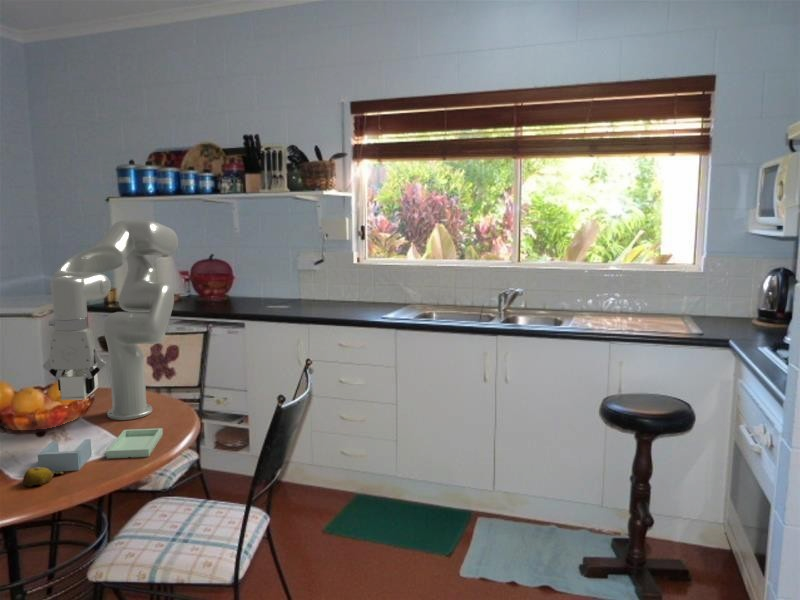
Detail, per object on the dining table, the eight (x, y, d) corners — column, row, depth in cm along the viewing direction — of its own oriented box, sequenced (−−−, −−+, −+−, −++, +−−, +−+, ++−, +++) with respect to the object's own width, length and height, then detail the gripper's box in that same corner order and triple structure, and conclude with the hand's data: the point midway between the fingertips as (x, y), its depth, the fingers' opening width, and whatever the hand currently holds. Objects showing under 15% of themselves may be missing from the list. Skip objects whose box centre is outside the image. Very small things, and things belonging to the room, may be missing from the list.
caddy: (76, 388, 165) (73, 355, 163) (98, 387, 166) (95, 355, 164) (61, 400, 155) (58, 366, 154) (84, 399, 156) (82, 365, 154)
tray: (124, 436, 168) (124, 429, 168) (162, 435, 170) (162, 428, 169) (106, 458, 154) (106, 451, 154) (148, 456, 155) (148, 449, 155)
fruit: (66, 472, 147) (65, 458, 146) (51, 488, 139) (50, 473, 138) (29, 474, 146) (28, 459, 145) (12, 490, 138) (11, 475, 137)
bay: (54, 457, 154) (52, 440, 154) (91, 455, 156) (90, 439, 155) (39, 472, 146) (37, 454, 145) (79, 470, 147) (77, 452, 146)
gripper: (28, 328, 150) (35, 398, 153) (102, 327, 153) (107, 396, 156) (42, 322, 158) (48, 389, 161) (111, 321, 160) (116, 387, 163)
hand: (77, 392), depth 158 cm, fingers closed on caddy, 5 cm apart
